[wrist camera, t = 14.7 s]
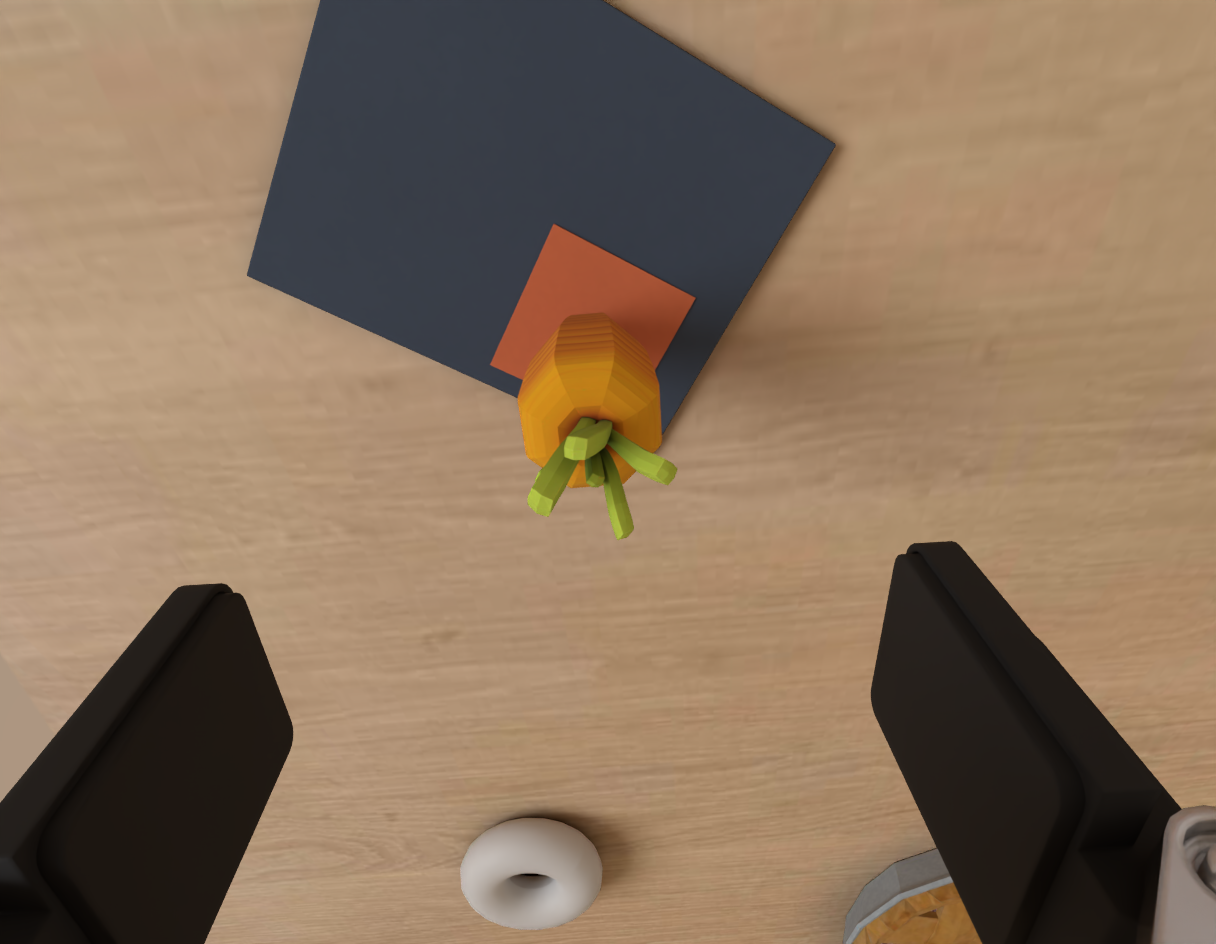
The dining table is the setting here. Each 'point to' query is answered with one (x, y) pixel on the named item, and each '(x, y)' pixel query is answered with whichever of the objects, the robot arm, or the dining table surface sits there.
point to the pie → (911, 907)
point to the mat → (525, 183)
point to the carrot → (592, 415)
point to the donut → (531, 850)
